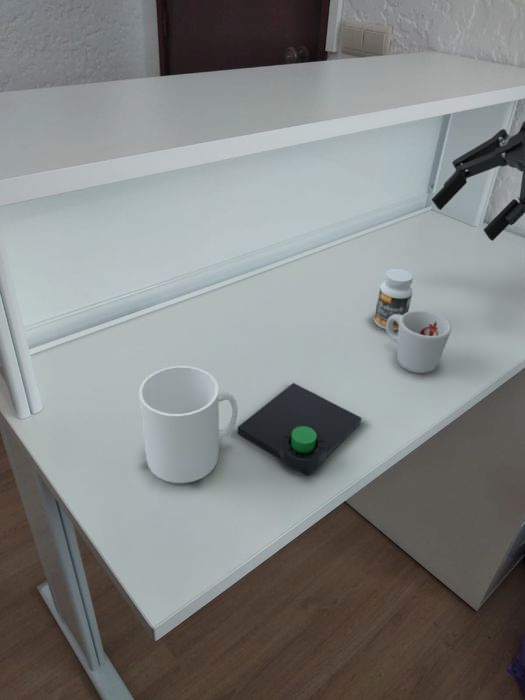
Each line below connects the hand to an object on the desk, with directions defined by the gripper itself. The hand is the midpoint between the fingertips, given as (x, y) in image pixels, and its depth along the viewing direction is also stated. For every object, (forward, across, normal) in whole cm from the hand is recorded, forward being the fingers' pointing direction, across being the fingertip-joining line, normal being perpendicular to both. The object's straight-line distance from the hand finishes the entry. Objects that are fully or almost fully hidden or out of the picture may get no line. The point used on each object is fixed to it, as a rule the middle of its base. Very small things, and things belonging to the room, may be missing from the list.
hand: (460, 219), depth 98 cm
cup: (+23, +11, +3) cm, 26 cm away
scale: (+40, +19, -14) cm, 47 cm away
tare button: (+40, +25, -18) cm, 50 cm away
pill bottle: (+21, 0, +6) cm, 22 cm away
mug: (+51, +19, -25) cm, 60 cm away
